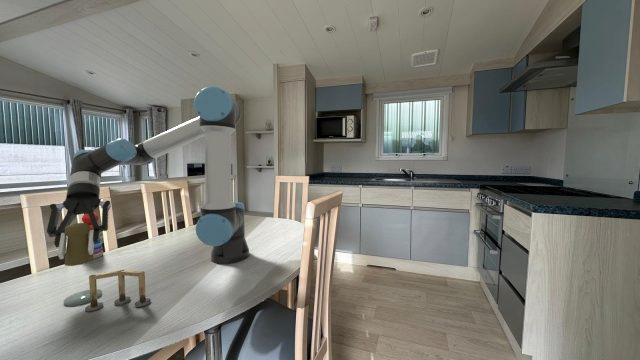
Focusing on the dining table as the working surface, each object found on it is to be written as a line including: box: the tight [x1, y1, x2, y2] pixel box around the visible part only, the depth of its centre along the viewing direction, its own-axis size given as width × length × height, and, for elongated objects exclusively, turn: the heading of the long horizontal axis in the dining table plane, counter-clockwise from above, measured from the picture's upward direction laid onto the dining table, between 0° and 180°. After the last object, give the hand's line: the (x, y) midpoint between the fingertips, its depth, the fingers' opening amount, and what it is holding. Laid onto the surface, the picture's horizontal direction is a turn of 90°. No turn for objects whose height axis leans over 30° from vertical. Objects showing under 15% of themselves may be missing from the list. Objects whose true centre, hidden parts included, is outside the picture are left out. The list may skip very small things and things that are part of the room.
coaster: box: [63, 288, 103, 307], centre depth 71 cm, size 8×8×1 cm
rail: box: [84, 269, 152, 313], centre depth 67 cm, size 15×8×9 cm, turn 121°
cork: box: [64, 222, 94, 267], centre depth 70 cm, size 6×6×11 cm
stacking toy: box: [81, 212, 104, 260], centre depth 101 cm, size 8×8×19 cm
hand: (76, 254), depth 67 cm, fingers closed on cork, 5 cm apart
